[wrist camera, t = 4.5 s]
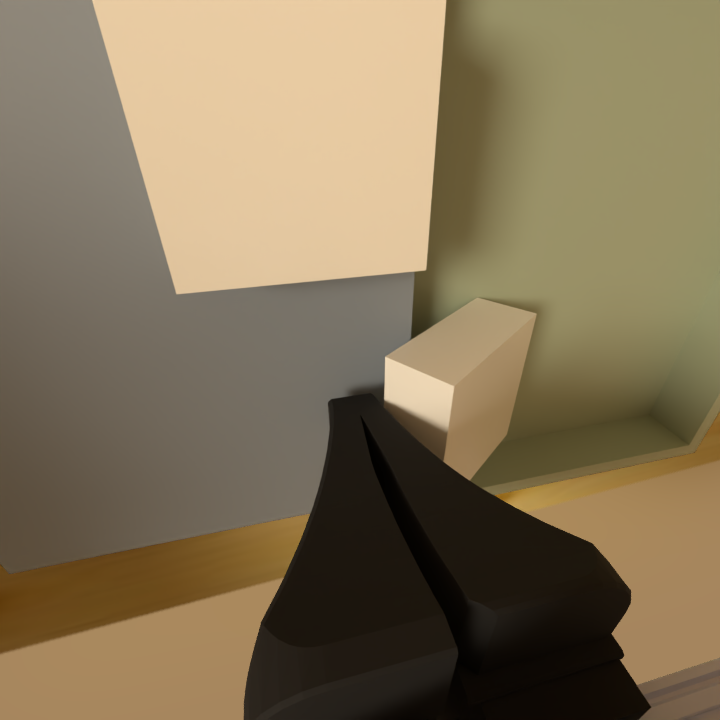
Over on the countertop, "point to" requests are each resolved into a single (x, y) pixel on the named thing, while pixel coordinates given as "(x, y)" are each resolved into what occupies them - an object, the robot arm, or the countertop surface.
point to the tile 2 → (460, 382)
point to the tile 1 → (281, 133)
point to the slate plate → (145, 334)
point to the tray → (584, 222)
